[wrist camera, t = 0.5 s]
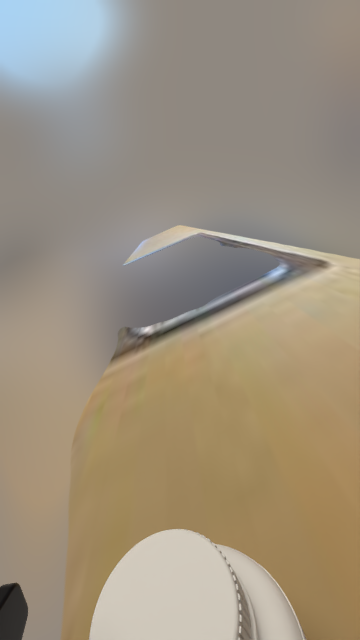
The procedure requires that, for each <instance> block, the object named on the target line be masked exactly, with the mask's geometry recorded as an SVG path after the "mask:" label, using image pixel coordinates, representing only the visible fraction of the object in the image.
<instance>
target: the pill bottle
mask: <svg viewBox="0 0 360 640" xmlns="http://www.w3.org/2000/svg"><path fill="white" fill-rule="evenodd" d="M89 640H306V637H305V635H304V633H303V630H302V628H301V625H300V623H299V620H298V618H297V616H296V614H295V612H294V610H293V608H292V606H291V604H290V602H289V600H288V599H287V597H286V595H285V594H284V592H283V591H282V589H281V588H280V586H279V585H278V584H277V582H276V581H275V580H274V579H273V577H272V576H271V575H270V574H269V573H268V572H267V571H266V570H265V569H264V568H263V567H262V566H261V565H259V564H258V563H257V562H256V561H254V560H253V559H251V558H250V557H248V556H247V555H245V554H243V553H241V552H239V551H237V550H235V549H233V548H230V547H227V546H223V545H218V544H214V543H213V542H211V540H209V539H208V538H207V539H206V537H205V536H203V535H200V534H199V533H197V532H196V533H195V532H194V531H191V530H190V531H188V530H185V529H184V530H182V529H171V530H165V531H161V532H158V533H155V534H153V535H151V536H149V537H147V538H145V539H144V540H142V541H141V542H139V543H138V544H137V545H135V546H134V547H133V548H132V549H131V550H130V551H129V552H128V553H127V554H126V555H125V556H124V557H123V558H122V559H121V560H120V562H119V563H118V564H117V565H116V567H115V568H114V570H113V571H112V573H111V574H110V576H109V578H108V580H107V581H106V583H105V585H104V587H103V589H102V592H101V594H100V596H99V599H98V602H97V605H96V608H95V611H94V615H93V619H92V624H91V629H90V636H89Z"/></svg>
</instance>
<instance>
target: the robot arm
mask: <svg viewBox="0 0 360 640" xmlns="http://www.w3.org/2000/svg"><path fill="white" fill-rule="evenodd" d="M27 616H28V606H27V603H26V600H25V598H24V595H23V592H22V590H21V587H20V585H19V584H18V583H11V584H5V585H2V586H1V587H0V640H22V635H23V632H24V628H25V624H26V621H27Z"/></svg>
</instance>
